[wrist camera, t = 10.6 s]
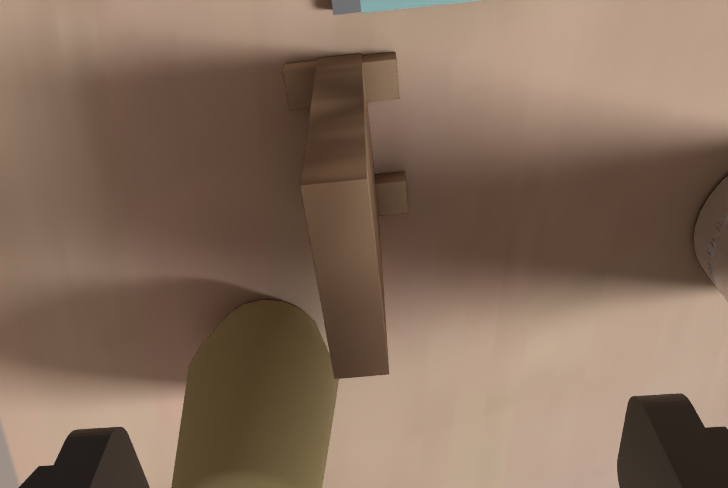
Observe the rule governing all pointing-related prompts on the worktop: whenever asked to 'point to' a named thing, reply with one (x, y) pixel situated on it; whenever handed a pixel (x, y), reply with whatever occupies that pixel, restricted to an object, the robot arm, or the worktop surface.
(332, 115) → the screen
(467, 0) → the cube
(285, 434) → the squeeze bottle
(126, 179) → the worktop surface
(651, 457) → the robot arm
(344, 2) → the coaster
